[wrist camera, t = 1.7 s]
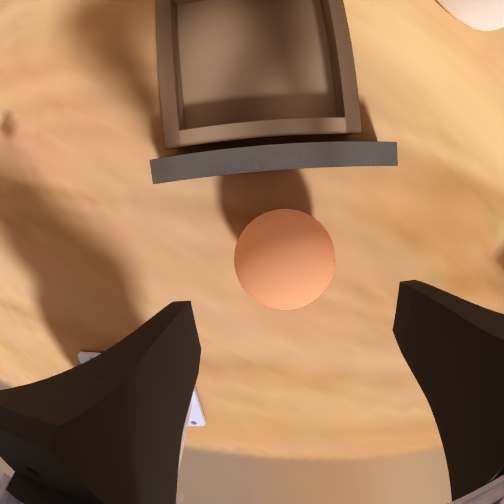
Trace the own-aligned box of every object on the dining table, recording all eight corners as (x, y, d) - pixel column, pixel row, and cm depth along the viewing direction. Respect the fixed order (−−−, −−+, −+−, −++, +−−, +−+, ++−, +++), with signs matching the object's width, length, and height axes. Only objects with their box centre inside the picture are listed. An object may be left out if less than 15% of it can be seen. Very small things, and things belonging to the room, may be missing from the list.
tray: (175, 148, 16) (165, 149, 14) (165, 0, 12) (155, -13, 10) (350, 134, 15) (361, 133, 13) (328, -13, 12) (336, -28, 10)
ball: (242, 285, 18) (237, 333, 14) (232, 204, 17) (223, 228, 12) (324, 278, 18) (344, 323, 13) (322, 197, 16) (347, 218, 12)
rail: (167, 178, 16) (152, 184, 14) (164, 157, 16) (149, 160, 13) (379, 162, 16) (397, 165, 13) (378, 141, 15) (396, 142, 13)
